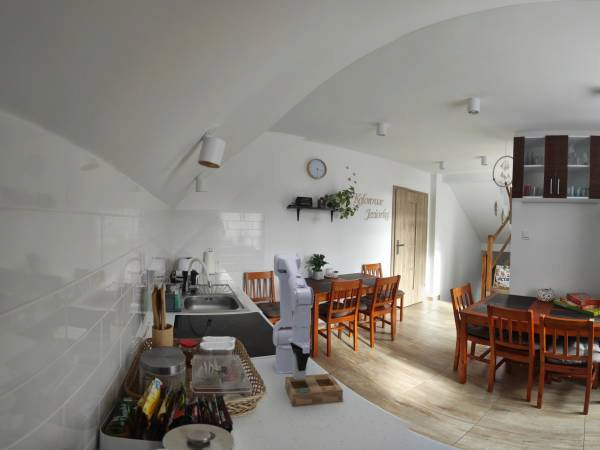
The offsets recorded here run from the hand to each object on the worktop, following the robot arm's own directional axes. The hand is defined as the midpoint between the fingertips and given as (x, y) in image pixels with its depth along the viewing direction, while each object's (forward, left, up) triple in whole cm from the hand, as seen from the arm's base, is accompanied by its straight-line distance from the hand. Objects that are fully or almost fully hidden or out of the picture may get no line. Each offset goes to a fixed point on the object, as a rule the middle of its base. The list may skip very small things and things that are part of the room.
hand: (300, 367), depth 104 cm
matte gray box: (0, 0, -3) cm, 3 cm away
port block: (0, +4, -9) cm, 10 cm away
